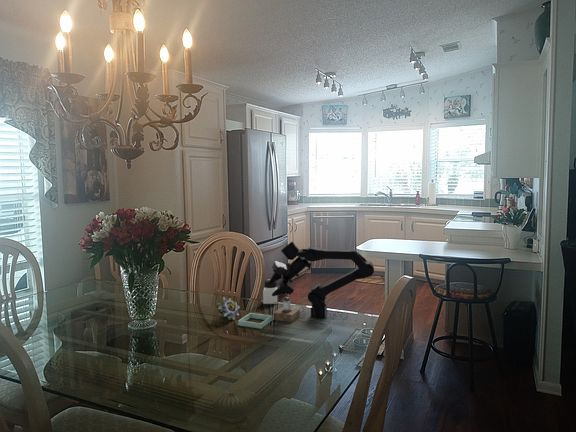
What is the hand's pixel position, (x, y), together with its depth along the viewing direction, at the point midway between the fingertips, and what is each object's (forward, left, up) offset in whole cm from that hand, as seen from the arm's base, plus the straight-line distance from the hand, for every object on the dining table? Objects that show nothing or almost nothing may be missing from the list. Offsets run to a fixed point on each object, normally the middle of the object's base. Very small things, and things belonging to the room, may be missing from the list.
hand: (270, 289), depth 203 cm
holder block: (-9, +2, -13) cm, 15 cm away
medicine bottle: (+8, -17, -13) cm, 23 cm away
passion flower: (+17, +10, -13) cm, 24 cm away
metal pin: (-9, +2, -12) cm, 15 cm away
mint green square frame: (+1, +13, -13) cm, 18 cm away
